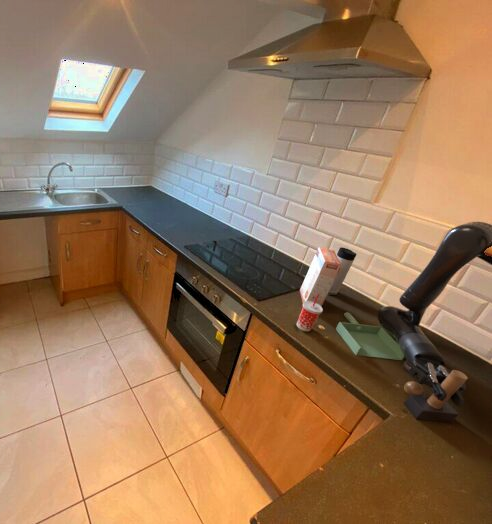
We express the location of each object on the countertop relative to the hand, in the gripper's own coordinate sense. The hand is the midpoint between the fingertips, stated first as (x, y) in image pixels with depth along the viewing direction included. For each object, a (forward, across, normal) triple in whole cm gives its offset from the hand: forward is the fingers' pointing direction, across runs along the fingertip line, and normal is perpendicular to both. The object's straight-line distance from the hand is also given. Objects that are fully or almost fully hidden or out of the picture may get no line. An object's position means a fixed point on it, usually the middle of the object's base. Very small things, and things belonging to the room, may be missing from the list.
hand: (451, 400), depth 72 cm
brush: (-3, 0, +8) cm, 9 cm away
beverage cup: (-26, -27, +9) cm, 39 cm away
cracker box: (-46, -23, +9) cm, 52 cm away
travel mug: (-59, -14, +9) cm, 61 cm away
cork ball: (-8, -2, +6) cm, 11 cm away
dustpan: (-31, -9, +8) cm, 33 cm away
